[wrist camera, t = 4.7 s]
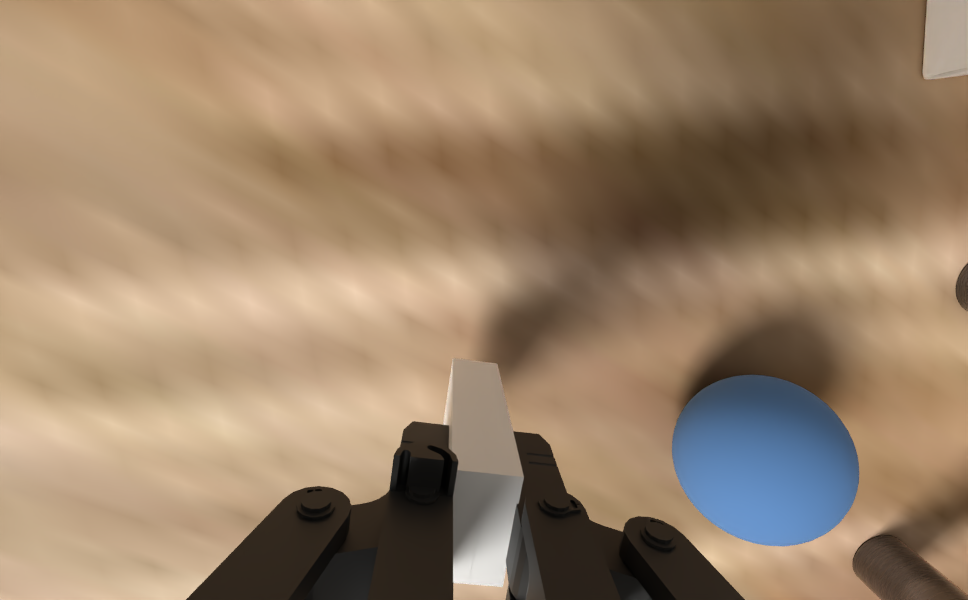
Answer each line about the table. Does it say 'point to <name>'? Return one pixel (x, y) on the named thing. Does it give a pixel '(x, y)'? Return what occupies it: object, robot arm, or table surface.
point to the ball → (765, 460)
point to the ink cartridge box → (946, 39)
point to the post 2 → (963, 288)
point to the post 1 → (901, 572)
